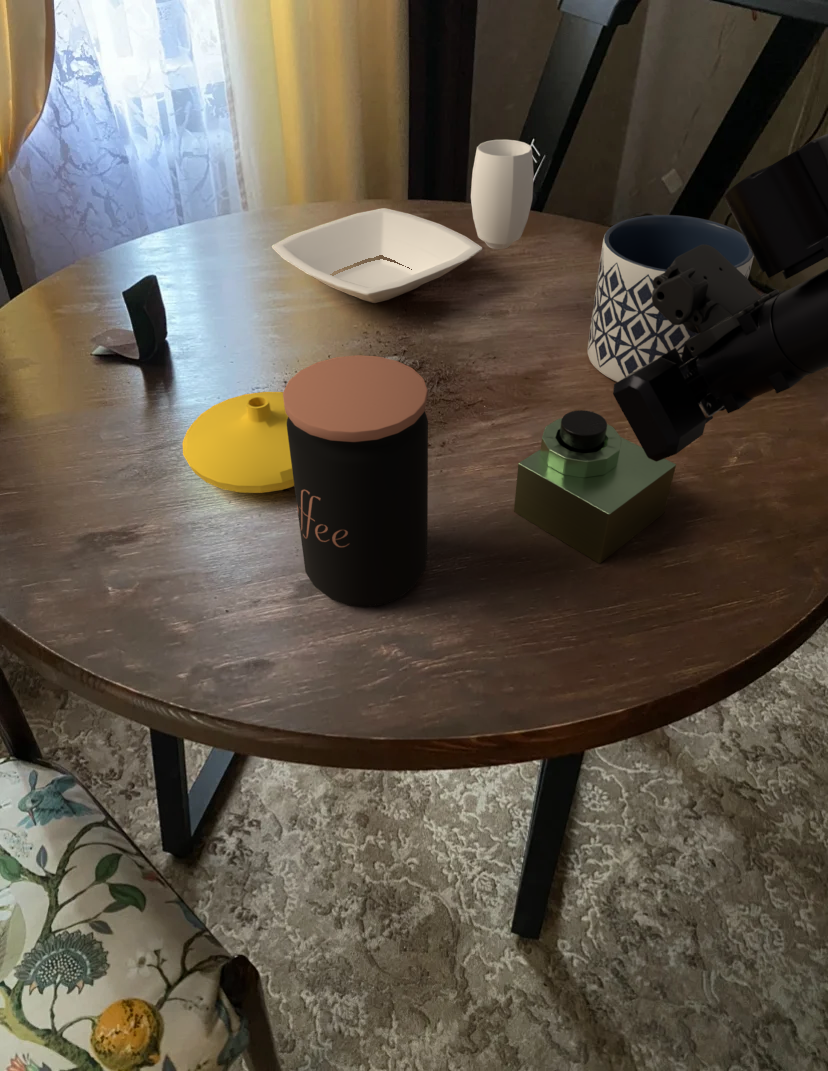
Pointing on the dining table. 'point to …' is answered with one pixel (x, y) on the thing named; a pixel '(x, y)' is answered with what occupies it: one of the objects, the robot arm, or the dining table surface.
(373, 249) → the bowl
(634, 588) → the dining table surface
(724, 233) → the planter
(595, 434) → the button
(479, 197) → the cup
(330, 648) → the dining table surface
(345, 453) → the coffee jar
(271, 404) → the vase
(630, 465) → the push button box
